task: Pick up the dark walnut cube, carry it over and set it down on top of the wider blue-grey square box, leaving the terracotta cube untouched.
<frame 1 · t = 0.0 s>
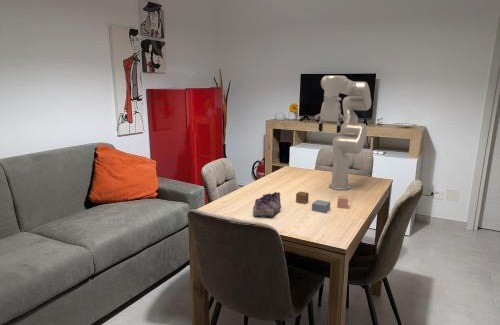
hand: (329, 132, 190), 37 cm above the table, fingers open, 9 cm apart
geode: (268, 212, 176), on the table
terracotta cube: (342, 206, 184), on the table
walnut cube: (302, 202, 191), on the table
blue-grey square box: (320, 210, 179), on the table
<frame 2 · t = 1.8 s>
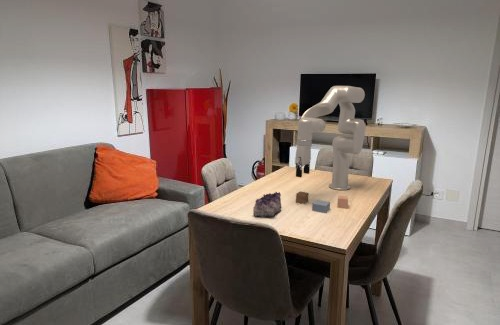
hand: (302, 175, 187), 15 cm above the table, fingers open, 9 cm apart
nothing on the table moved.
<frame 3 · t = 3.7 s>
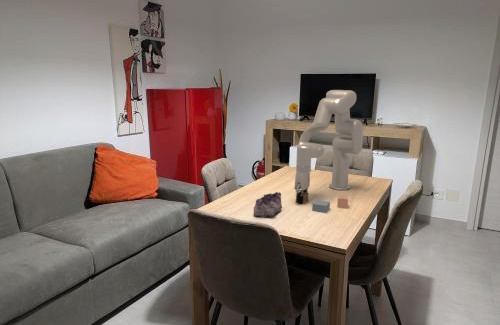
hand: (302, 201, 191), 0 cm above the table, fingers closed on walnut cube, 5 cm apart
walnut cube: (302, 201, 191), on the table, touching gripper
everything else where it was.
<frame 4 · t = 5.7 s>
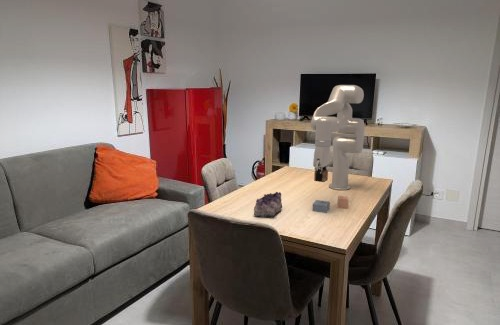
hand: (321, 179, 176), 16 cm above the table, fingers closed on walnut cube, 5 cm apart
walnut cube: (320, 180, 176), point 15 cm above the table, touching gripper
everything else where it was.
when the fingers open (6 cm above the table, at t = 8.0 s): walnut cube drops 1 cm, resting on blue-grey square box.
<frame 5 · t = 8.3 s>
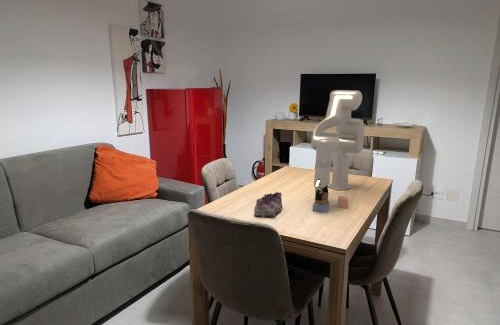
hand: (321, 197, 178), 6 cm above the table, fingers open, 8 cm apart
walnut cube: (321, 202, 178), point 4 cm above the table, touching blue-grey square box
blue-grey square box: (320, 210, 179), on the table, touching walnut cube
everything else where it was.
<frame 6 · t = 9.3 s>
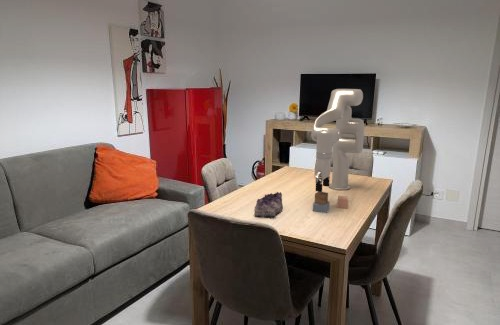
hand: (322, 188, 177), 11 cm above the table, fingers open, 9 cm apart
walnut cube: (321, 202, 178), point 4 cm above the table
blue-grey square box: (320, 210, 179), on the table
everything else where it was.
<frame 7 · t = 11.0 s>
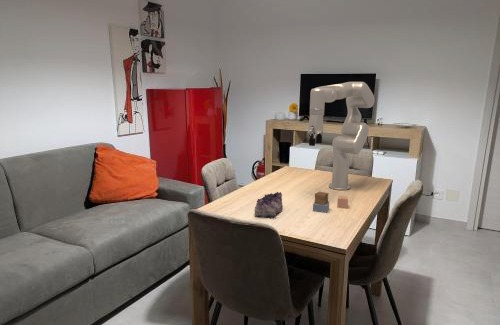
hand: (315, 144, 191), 30 cm above the table, fingers open, 9 cm apart
walnut cube: (321, 202, 178), point 4 cm above the table, touching blue-grey square box
blue-grey square box: (320, 210, 179), on the table, touching walnut cube
everything else where it was.
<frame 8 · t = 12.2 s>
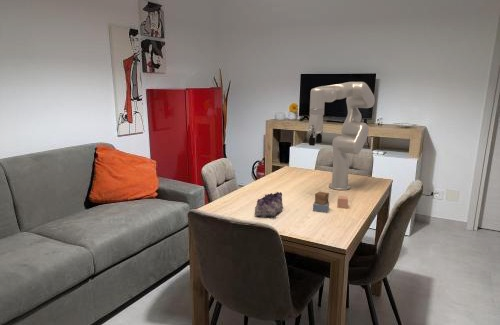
hand: (315, 144, 191), 30 cm above the table, fingers open, 9 cm apart
nothing on the table moved.
at the end: walnut cube 0.1 cm off-centre on the blue-grey square box, point 4.0 cm above the blue-grey square box's base; walnut cube touching blue-grey square box; the gripper is holding nothing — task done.
